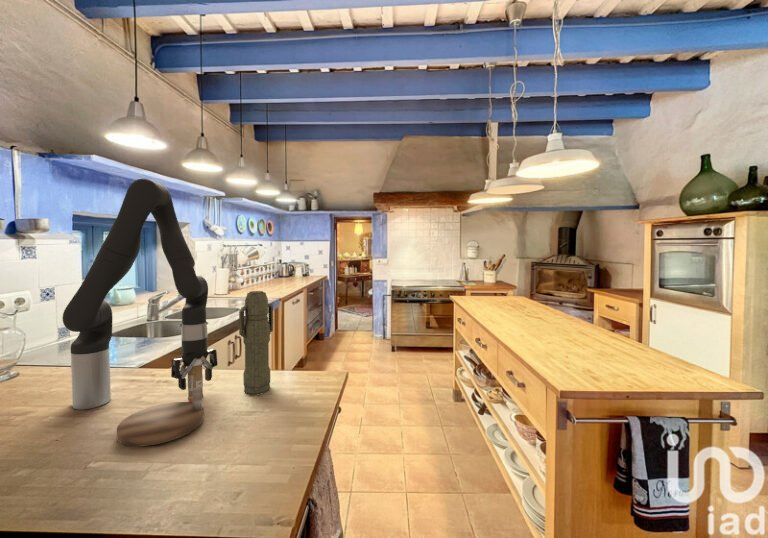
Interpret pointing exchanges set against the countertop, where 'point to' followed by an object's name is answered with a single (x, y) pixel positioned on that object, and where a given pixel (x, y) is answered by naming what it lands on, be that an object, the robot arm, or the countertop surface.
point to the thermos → (256, 341)
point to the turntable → (162, 422)
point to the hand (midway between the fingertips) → (195, 384)
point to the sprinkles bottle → (195, 377)
